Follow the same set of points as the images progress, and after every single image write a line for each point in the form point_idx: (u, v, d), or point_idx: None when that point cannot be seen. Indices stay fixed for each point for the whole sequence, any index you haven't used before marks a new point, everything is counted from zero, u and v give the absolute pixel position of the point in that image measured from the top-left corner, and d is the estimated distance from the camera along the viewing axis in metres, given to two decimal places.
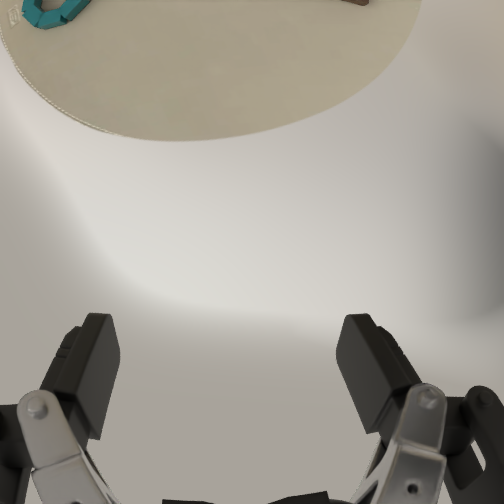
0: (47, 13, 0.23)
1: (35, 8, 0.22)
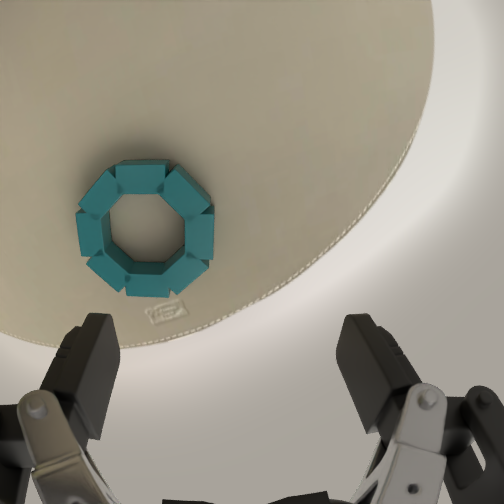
0: (189, 242, 0.22)
1: (171, 269, 0.22)
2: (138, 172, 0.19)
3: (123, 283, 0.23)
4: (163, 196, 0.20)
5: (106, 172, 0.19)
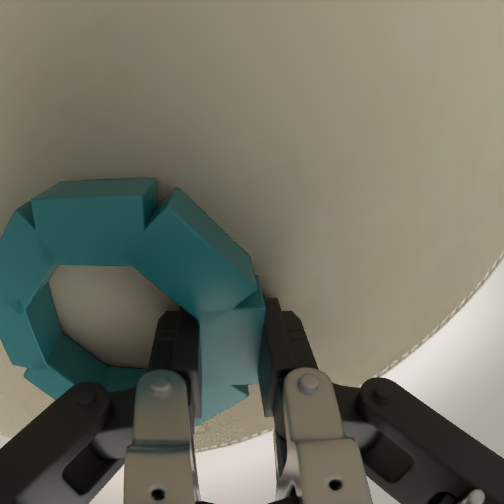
0: (210, 360, 0.10)
1: None
2: (80, 215, 0.07)
3: None
4: (144, 272, 0.08)
5: (16, 216, 0.07)
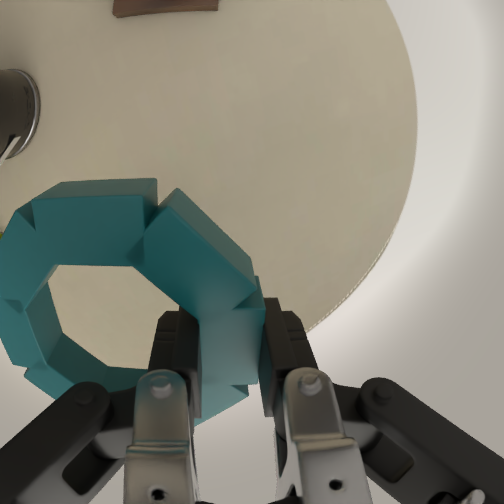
0: (210, 360, 0.10)
1: None
2: (80, 216, 0.07)
3: None
4: (144, 272, 0.08)
5: (16, 216, 0.07)
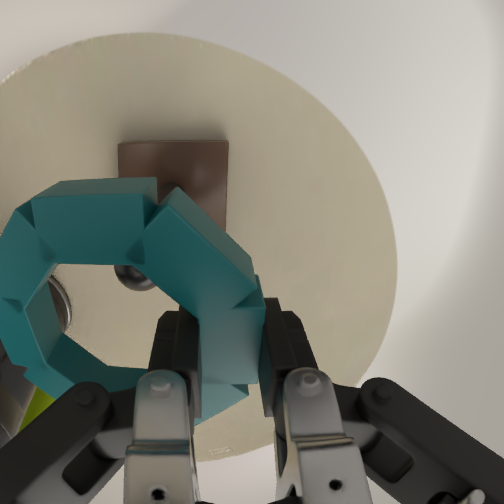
0: (210, 360, 0.10)
1: None
2: (80, 214, 0.07)
3: None
4: (144, 271, 0.08)
5: (16, 215, 0.07)
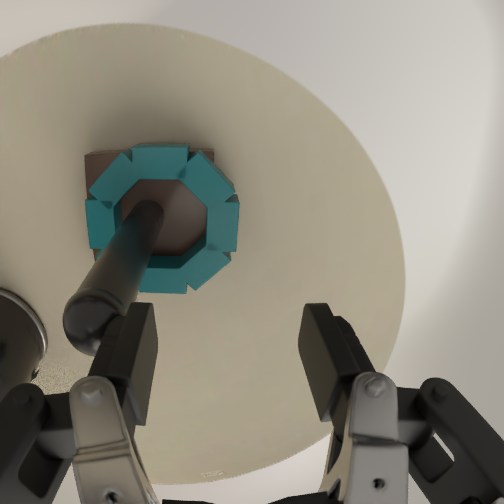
0: (211, 233, 0.20)
1: (189, 262, 0.21)
2: (157, 155, 0.18)
3: None
4: (184, 182, 0.19)
5: (121, 155, 0.17)
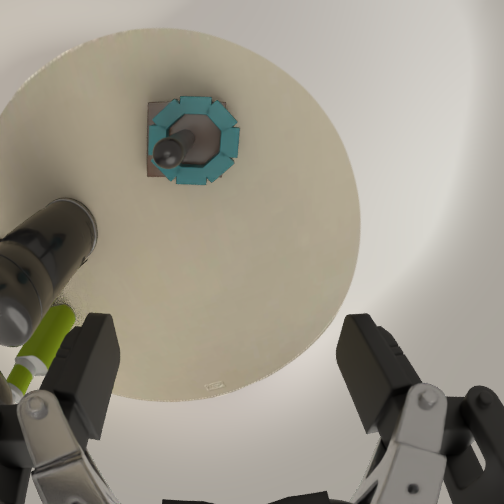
0: (223, 145, 0.34)
1: (209, 163, 0.34)
2: (194, 101, 0.31)
3: (175, 174, 0.34)
4: (209, 116, 0.32)
5: (174, 100, 0.31)
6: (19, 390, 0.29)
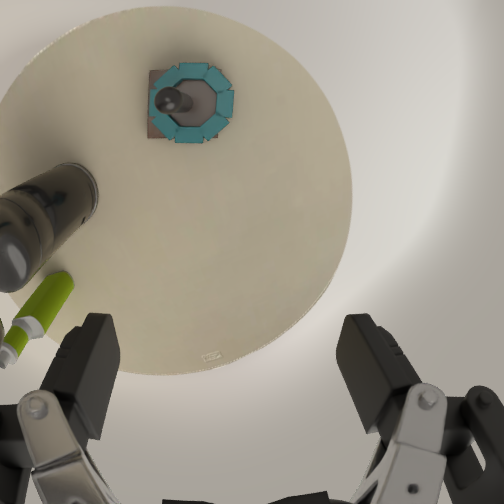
0: (218, 106, 0.35)
1: (206, 123, 0.35)
2: (192, 66, 0.32)
3: (174, 133, 0.35)
4: (205, 79, 0.33)
5: (173, 66, 0.32)
6: (14, 349, 0.30)
